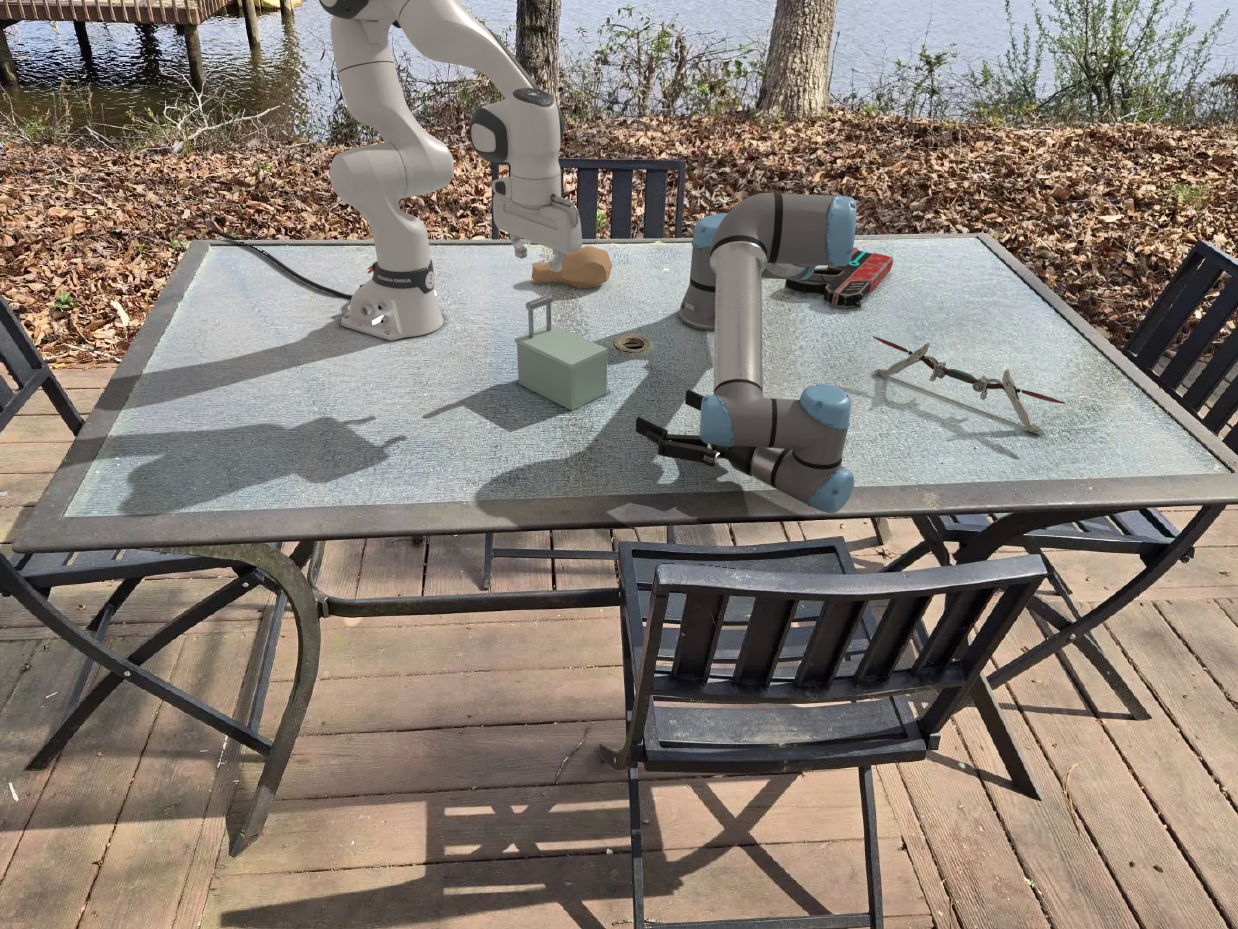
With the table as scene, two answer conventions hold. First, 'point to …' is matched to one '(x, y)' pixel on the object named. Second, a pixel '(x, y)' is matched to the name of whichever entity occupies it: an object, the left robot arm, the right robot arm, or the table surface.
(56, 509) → the table surface
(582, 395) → the chest
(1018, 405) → the bow
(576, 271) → the squash
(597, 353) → the lid
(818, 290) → the gun
